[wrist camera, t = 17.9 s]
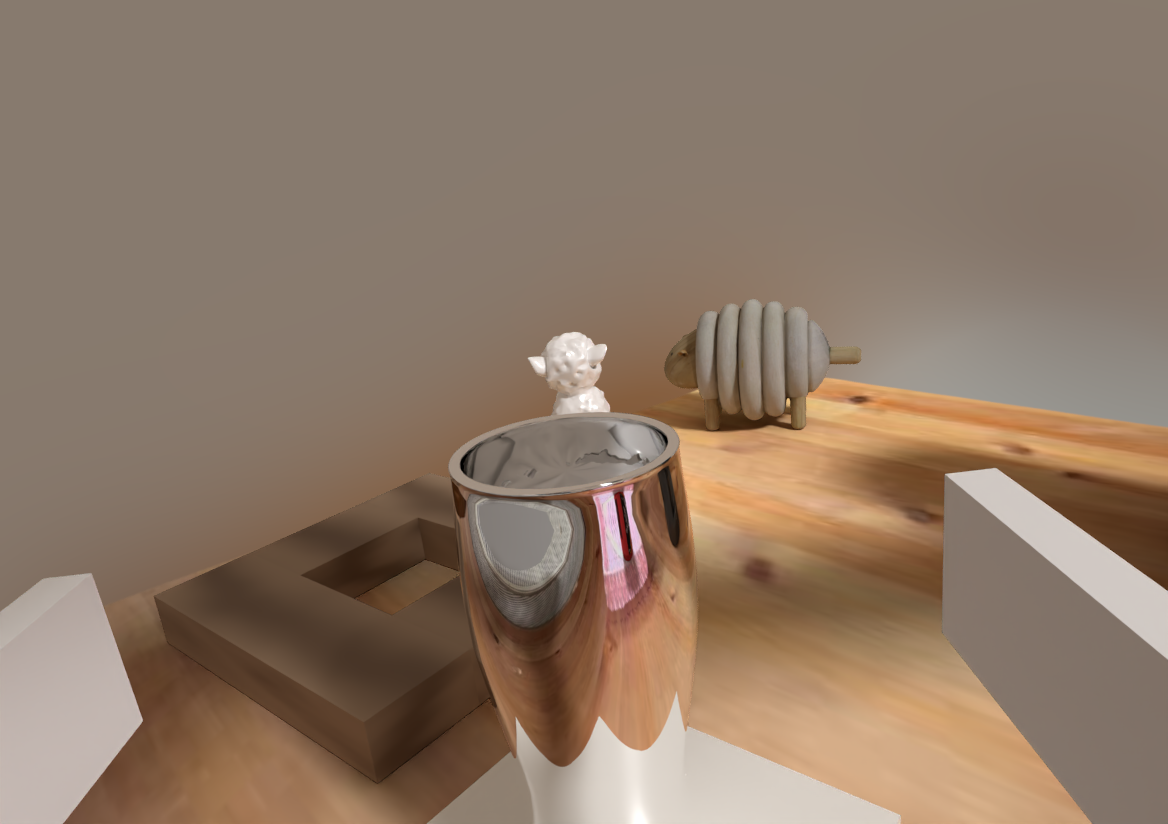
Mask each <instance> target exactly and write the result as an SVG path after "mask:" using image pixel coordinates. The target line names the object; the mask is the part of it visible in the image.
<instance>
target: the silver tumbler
mask: <svg viewBox="0 0 1168 824" xmlns="http://www.w3.org/2000/svg"><path fill="white" fill-rule="evenodd" d="M679 445H680V441H679V437H678V434H677V433H676V432H675V430H674V429H672V428H671V427H670V426H668V425H667V424H665V423H663V422H661V421H658V420H655V419H652V418H649V417H645V416H640V415H634V414H627V413H614V412H583V413H569V414H560V415H553V416H547V417H540V418H535V419H530V420H526V421H521V422H518V423H514V424H510V425H507V426H504V427H500V428H498V429H495V430H492V431H490V432H487V433H485V434H483V435H480V436H479V437H476V438H474V439H472V440H471V441H469V442H467V443H466V444H464V445H463V446H462V447H461V448H459V449H458V450H457V451H456V452H455V453H454V454H453V456H452V457H451V459H450V461H449V465H448V470H449V473H450V478H451V487H452V498H453V511H454V526H455V538H456V549H457V560H458V568H459V575H460V583H461V590H462V597H463V603H464V608H465V613H466V618H467V622H468V627H469V632H470V637H471V642H472V645H473V648H474V652H475V655H476V658H477V661H478V664H479V667H480V671H481V674H482V677H483V680H484V683H485V686H486V689H487V691H488V694H489V697H490V699H491V702H492V705H493V707H494V710H495V712H496V715H497V718H498V720H499V723H500V725H501V728H502V730H503V733H504V735H505V738H506V741H507V743H508V746H509V748H510V751H511V753H512V756H513V759H514V762H515V764H516V767H517V770H518V773H519V775H520V779H521V783H522V788H523V792H524V798H525V806H526V824H697V821H696V818H695V815H694V812H693V808H692V805H691V802H690V798H689V794H688V790H687V783H686V776H685V775H687V774H685V747H686V737H687V726H688V719H689V711H690V703H691V695H692V687H693V678H694V670H695V661H696V649H697V632H698V614H699V611H698V585H697V566H696V557H695V548H694V539H693V530H692V524H691V517H690V511H689V504H688V498H687V492H686V487H685V481H684V475H683V470H682V463H681V457H680V449H679Z"/></svg>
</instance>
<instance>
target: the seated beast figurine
mask: <svg viewBox="0 0 1168 824" xmlns="http://www.w3.org/2000/svg"><path fill="white" fill-rule="evenodd" d="M606 350H607V347H606V344H599V345H594V344H593V342H592V341H591V339H590V338H586V336H585V335H582V334H581V333H579V332H572V333H569V334H568V333H564V334H562V335H561V336H555V337H554V338H553V339H552V340H551V341H549V342H548V344H547V345H546V349H545V350H544V351H543V352H542V354H541V357H529V358H528V360H529V362H530V363H531V365H532V367H533V369H534V371H535V373H536V374H537V375H539V376H543V377H545V379H546V382H547V383H548V385H549V388H552V389H555V390H557V391H559V392H558V393H557V395H556V399H557V400H556V402H555V403H554V405H553V407H554V408H553V413H552V416H553V415H560V414H569V413H583V412H610V405H609V404H608V402H607V400H606V399H605V398H604V392H602V391H601V390H599V389H598V388H596V387H595V386H594V384H595V382H596V381H597V380H598V379H599V376H600V373H601V365H600V362H602V360H603V358H604V356H605V353H606ZM593 386H594V387H593Z"/></svg>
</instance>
